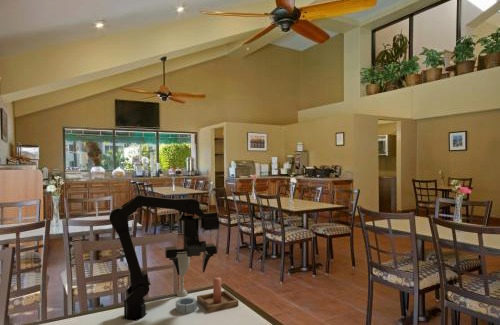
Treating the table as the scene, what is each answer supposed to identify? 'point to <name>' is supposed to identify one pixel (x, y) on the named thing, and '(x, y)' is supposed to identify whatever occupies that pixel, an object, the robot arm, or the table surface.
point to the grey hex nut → (186, 305)
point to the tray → (209, 306)
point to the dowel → (217, 290)
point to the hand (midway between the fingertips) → (191, 273)
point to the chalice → (183, 272)
